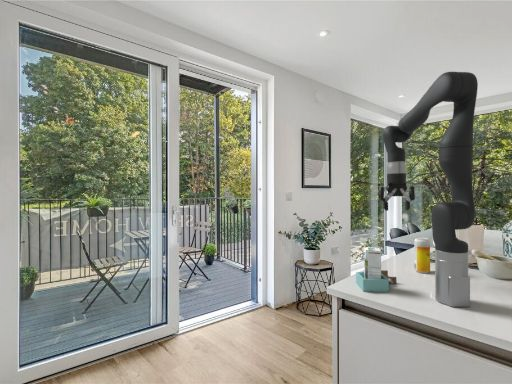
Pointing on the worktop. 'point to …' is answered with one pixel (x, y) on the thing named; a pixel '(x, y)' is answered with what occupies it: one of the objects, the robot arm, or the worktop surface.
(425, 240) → the glass of beer
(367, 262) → the syrup box
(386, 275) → the mount rails
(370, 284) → the teal square tray
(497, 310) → the worktop surface
